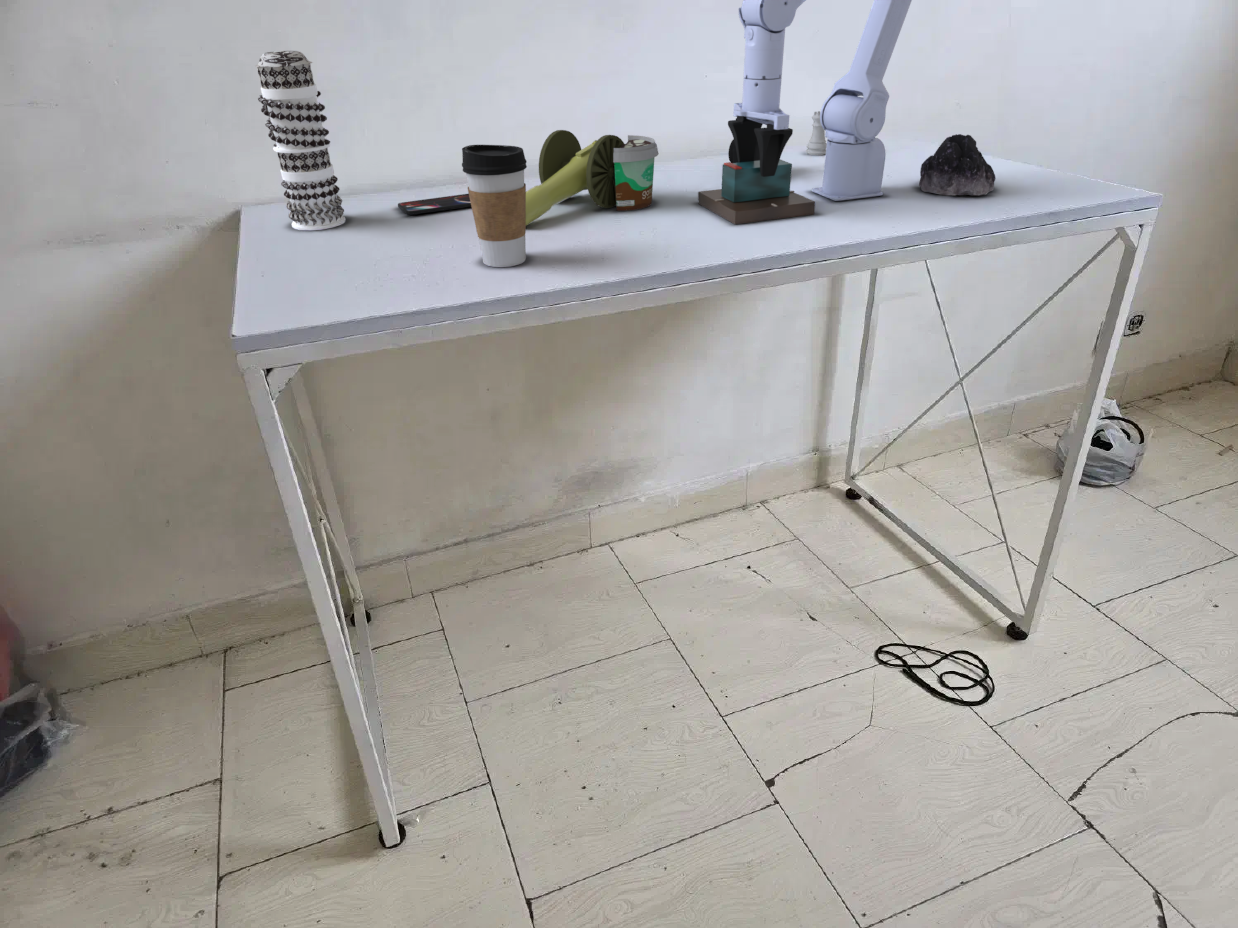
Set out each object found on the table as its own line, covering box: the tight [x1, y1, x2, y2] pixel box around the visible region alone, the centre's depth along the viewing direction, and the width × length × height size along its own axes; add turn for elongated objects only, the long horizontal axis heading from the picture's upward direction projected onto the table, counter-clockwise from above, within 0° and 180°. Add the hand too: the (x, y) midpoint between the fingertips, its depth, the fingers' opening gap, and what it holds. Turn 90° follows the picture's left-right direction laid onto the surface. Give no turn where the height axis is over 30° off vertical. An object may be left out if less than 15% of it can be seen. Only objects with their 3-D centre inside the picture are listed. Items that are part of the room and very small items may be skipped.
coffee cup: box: [461, 144, 528, 268], centre depth 108 cm, size 8×8×15 cm
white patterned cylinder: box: [254, 50, 346, 231], centre depth 125 cm, size 9×9×25 cm
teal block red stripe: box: [721, 159, 793, 203], centre depth 129 cm, size 10×5×5 cm, turn 109°
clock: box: [697, 188, 816, 225], centre depth 131 cm, size 14×14×2 cm
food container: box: [613, 134, 659, 212], centre depth 134 cm, size 12×6×10 cm, turn 168°
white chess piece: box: [805, 110, 827, 156], centre depth 166 cm, size 4×4×8 cm
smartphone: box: [397, 193, 472, 216], centre depth 138 cm, size 7×1×15 cm
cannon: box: [526, 129, 625, 226], centre depth 131 cm, size 25×12×11 cm, turn 144°
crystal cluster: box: [918, 133, 997, 197], centre depth 137 cm, size 13×14×10 cm
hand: (756, 171), depth 129 cm, fingers open, 7 cm apart
